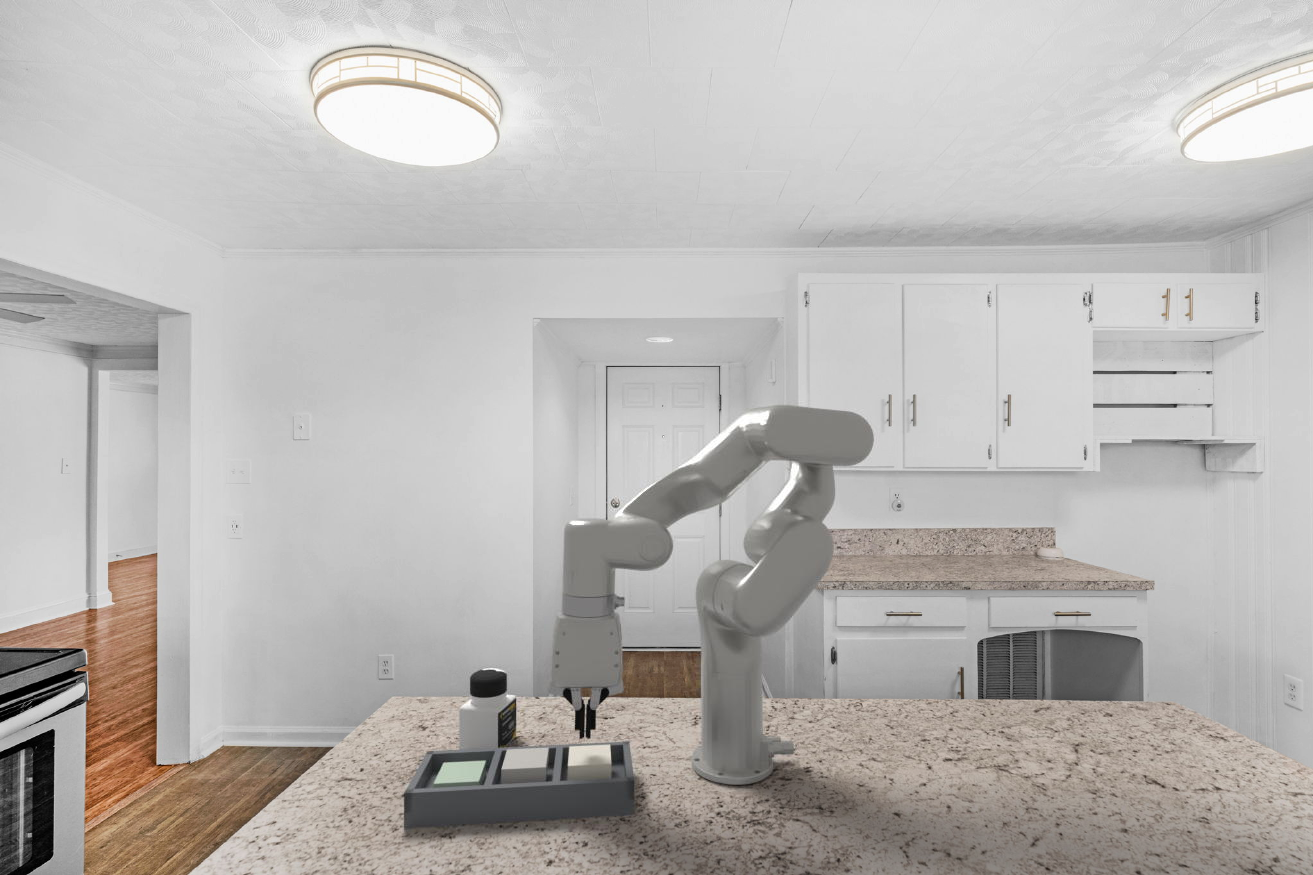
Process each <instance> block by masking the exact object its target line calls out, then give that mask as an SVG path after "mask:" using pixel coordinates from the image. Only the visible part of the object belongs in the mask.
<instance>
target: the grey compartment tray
mask: <svg viewBox="0 0 1313 875" xmlns="http://www.w3.org/2000/svg"><path fill="white" fill-rule="evenodd" d="M590 745H610V750H611V778H607V779H589V780H570V781H568V757H569V746H590ZM528 748H549V763H548V770H547V777H546V782H533V783H515V784H501V769H502V766H503V762H504V759H505V755H506V752H507V750H508V749H528ZM467 761H486V776H485V779H484V782H483V785H478V786H459V787H441V788H433V784H434V782H435V780H436V777H437V775H438V773H439V771H440V769H441V767H442V765H443V763H447V762H467ZM633 767H634V766H633V759H632V753H631V744H630V741H613V742H612V741H611V742H589V743H588V742H586V743H570V744H569V743H568V744H566V743H565V744H549V745H548V744H547V745H528V746H527V745H525V746H506V747H504V748H483V749H463V750H459V749H446V750H445V749H444V750H427V751H426V753H425V754H424V756H423V759H422V760H421V762H420V764H419V766H418V767H417V769H416V771H415V773H414V775H413V777H412V778H411V780H410V782H409V783H408V785H407V786H406V789H405V791H404V793H403V829H415V828H416V829H419V828H432V827H434V828H436V827H449V826H450V827H452V826H453V827H454V826H465V825H466V826H467V824H471V825H483V824H484V825H486V824H485V823H487V824H500V823H502V824H503V823H517V822H518V823H519V822H534V821H536V822H537V821H549V820H550V821H552V820H553V821H554V820H569V819H571V820H572V819H583V818H584V819H585V818H597V817H598V818H600V817H601V818H602V817H616V816H617V817H618V816H634V815H635V811H636V810H635V775H634V768H633ZM463 824H465V825H463Z"/></svg>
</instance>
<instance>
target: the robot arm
mask: <svg viewBox="0 0 1313 875" xmlns="http://www.w3.org/2000/svg"><path fill="white" fill-rule="evenodd" d="M874 436H875V435H874V432H873V429H872V426H871V425H870V424H869V422H868V420H867V419H865V418H864V417H863V416H862V415H860V414H858V413H856V412H853V411H847V410H838V409H837V410H836V409H831V408H830V409H827V408H826V409H825V408H818V407H817V408H816V407H810V406H809V407H808V406H800V405H790V404H774V405H769V406H760V407H754V408H751V409H748V410H746V411H745V412H743V413H741V414H740V415H739V416H738V417H736V418H735V419H734V420H733V421H731V422H730V423H729V425H727V426H726V427H725V428H723V429H722V430H721V431H720V432H719V433H718V434H717V435H716V436H715V437H714V438H713V439H712V440H710V441H709V442H708V443H707V444H706V445H705V446H703V447H702V448H701V449H700V450H699V451H698V452H696V454H695V455H693V456H692V457H691V458H690V459H688V460H687V461H686V462H684V463H683V464H682V465H679V466H678V467H676V468H675V469H673V470H672V471H671V472H669V473H667V474H666V475H665V476H663V477H661V478H660V479H659V480H657V481H656V482H654V483H652V484H651V485H650V486H648V487H646V488H645V489H644V490H642V491H641V492H640V493H638V495H636V496H635V497H634V498H633V499H632V500H630V502H628V503H627V504H626V505H625V506H624V507H622V509H620V510H619V511H618V512H617V513H616V514H615V515H614V516H613V517H612V518H611V520H609V519H605V518H596V517H595V518H594V517H591V518H590V517H585V518H582V517H581V518H574V519H570V520H569V521H568V522H567V523H566V524H565V526H564V529H563V530H564V533H563V557H562V559H563V562H562V565H563V566H562V568H563V569H562V593H561V596H562V597H561V598H562V599H561V611H559V612H557V614H556V617H555V620H554V628H553V634H552V643H551V644H552V646H551V659H550V682H549V685H548V693H549V694H551V695H555V696H557V697H563V698H564V699H565V700H566V701H567V702H568V703H569V704H570V705H571V706H572V708H573V709H574V731H579V738H578V739H580V740H581V739H582V740H583V739H584V738H586V739H587V740H588V739H589V740H590V739H591V735H592V734H591V731H593V730H594V731H596V729H597V709H598V708H599V706H601V704H602V703H603V702H604V701H605V700H606V699H607V698H608V697H610V696H614V695H618V694H622V693H623V692H624V690H625V689H624V682H623V679H622V678H623V637H622V636H623V635H622V625H621V618H620V617H621V616H620V614H619V612H618V611H615V610H617V608H620V607H625V601H626V600H625V597H624V596H619V595H617V594H616V593H615V589H616V569H622V570H630V571H638V572H640V571H641V572H649V571H654V570H656V569H659V568H661V567H663V566H664V565H665V564H666V563H667V562H668V561H669V560H670V558H671V557H672V553H673V550H674V542H673V537H672V535H671V532H670V531H669V528H670V527H671V526H672V525H674V524H675V523H677V522H678V521H680V520H682V519H683V518H685V517H687V516H689V515H692V514H694V513H697V512H701V511H705V510H709V509H711V508H715V507H717V506H718V505H721V504H723V503H724V502H726V501H727V500H729V499H730V498H731V497H732V496H733V495H734V494H735V493H736V492H737V491H738V490H739V489H740V488H741V487H742V486H743V485H744V484H745V483H746V482H748V481H749V479H751V478H752V477H753V476H754V475H755V474H756V473H758V472H759V471H760V470H761V469H762V468H763V467H764V466H765V465H766V464H768V463H769V462H770V461H785V462H787V461H788V462H789V471H788V476H787V479H786V481H785V482H784V484H783V485H782V487H781V488H780V489H779V491H778V492H777V493H776V495H774V497H773V498H772V500H771V501H769V503H768V504H767V506H766V507H765V508H764V509H763V510H762V512H760V513H759V515H758V516H757V517H756V518H755V519H754V520H753V522H752V523H751V524H750V525H749V527H748V528H747V530H746V532H745V534H744V537H743V544H742V545H743V551H744V552H745V554H746V556H747V557H748V559H750V561H751V562H753V563H754V564H755V565H754V566H752V565H750V564H747V563H743V562H741V561H737V560H734V559H733V560H732V559H719V560H716V561H714V562H711V563H710V564H709V565H707V566H706V567H705V568H704V569H703V570H702V571H701V573H700V574H699V577H698V579H697V582H696V586H695V603H696V604H695V606H696V613H697V618H698V625H699V634H700V635H699V636H700V637H699V638H700V700H701V701H700V713H701V716H700V717H701V718H700V721H701V722H700V726H701V727H700V728H701V730H700V732H701V737H700V738H701V740H700V741H701V743H700V744H701V745H700V746H698V747H696V749H695V750H694V751H693V752H692V754H691V766H692V769H693V770H694V771H695V772H696V773H697V774H698V775H699V776H701V777H702V778H704V779H707V780H709V781H712V782H715V783H718V784H723V785H733V786H739V785H741V786H742V785H743V786H744V785H750V784H755V783H758V782H760V781H761V782H762V781H763V780H766V779H767V778H768V777H769V776H771V774H772V773H773V771H774V759H773V758H774V757H775V755H776V756H778V755H781V756H784V755H785V756H786V755H787V756H789V755H794V754H795V747H794V746H795V745H794V742H793V741H792V740H782V738H781V736H780V735H777V736H776V735H773V736H766V735H765V733H764V732H763V731H764V730H763V729H764V725H763V721H764V720H763V718H764V717H763V716H764V714H763V711H764V710H763V649H762V648H763V647H762V640H761V638H767V637H769V636H773V635H774V634H776V633H777V632H778V631H780V630H781V629H782V628H783V627H785V626H786V625H787V623H788V622H790V620H791V619H792V618H793V616H795V614H796V612H797V611H798V610H799V608H800V607H802V605H803V603H805V601H806V600H807V598H809V596H810V595H811V594H812V592H813V591H814V590H815V589H816V587H817V586H818V585H819V583H820V582H821V581H822V579H823V578H824V576H825V575H826V573H827V572H828V570H829V568H830V566H831V564H832V560H833V557H834V548H835V547H834V539H833V536H832V534H831V531H830V529H829V528H828V527H827V525H825V523H824V520H825V519H826V517H827V516H828V514H829V513H830V511H831V510H832V508H833V505H834V504H835V499H836V483H835V481H836V480H835V473H834V467H851V466H852V467H853V466H856V465H858V464H860V463H862V462H863V461H865V460H866V459H867V457H868V456H869V455H870V454H871V452H872V450H873V447H874V441H875V440H874V439H875V437H874ZM582 689H591V691H590V695H589V699H588V700H587V703H585V700H584V699H583V697H582Z"/></svg>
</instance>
